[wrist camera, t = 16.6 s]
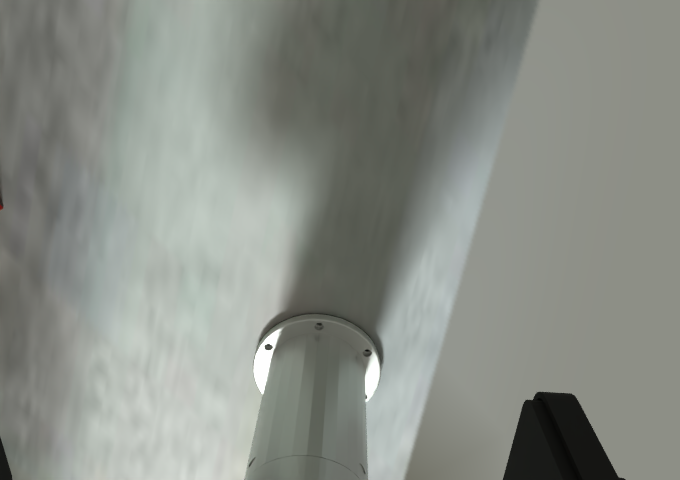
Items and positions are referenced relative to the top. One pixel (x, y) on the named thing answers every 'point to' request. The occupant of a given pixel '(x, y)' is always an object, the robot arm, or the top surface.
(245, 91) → the top surface
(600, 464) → the robot arm
